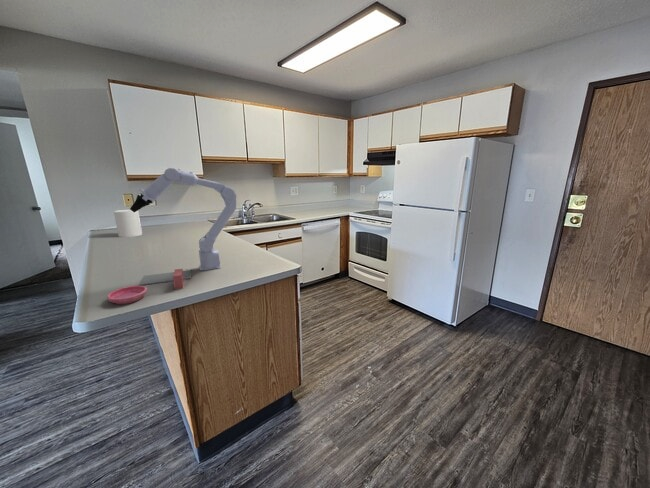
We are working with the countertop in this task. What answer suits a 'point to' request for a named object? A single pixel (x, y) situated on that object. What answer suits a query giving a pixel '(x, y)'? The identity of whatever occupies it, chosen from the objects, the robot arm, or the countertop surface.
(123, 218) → the canister
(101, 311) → the countertop surface
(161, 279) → the mat
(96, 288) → the countertop surface
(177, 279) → the box
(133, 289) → the saucer
